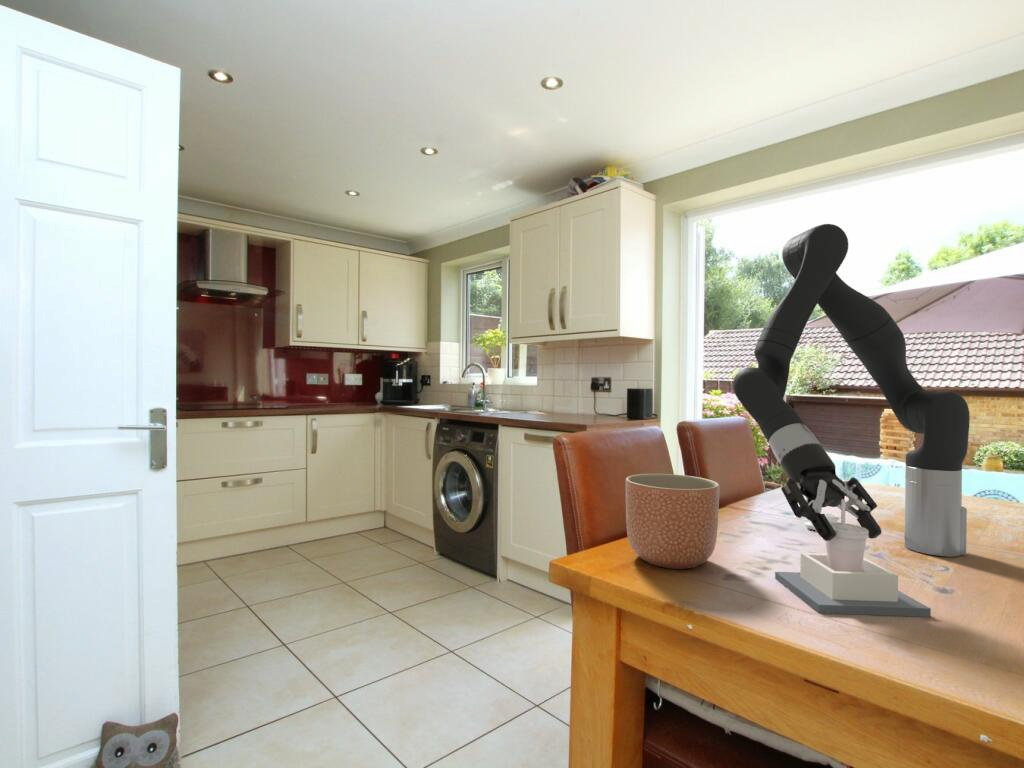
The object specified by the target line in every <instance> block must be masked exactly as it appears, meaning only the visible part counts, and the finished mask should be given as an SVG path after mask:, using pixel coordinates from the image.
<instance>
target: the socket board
mask: <svg viewBox="0 0 1024 768" xmlns="http://www.w3.org/2000/svg"><path fill="white" fill-rule="evenodd" d="M774 579H775V580H776V581H778V583H780V584H781V585H782V586H784V587H785V588H786V589H788V591H790V592H791V593H793V594H794V595H795V596H796V597H798V598H799V599H800V600H801V601H803V602H804V603H806V605H808V607H810V608H812V609H813V610H814V611H816V613H818V614H839V615H840V614H842V615H843V614H844V615H865V616H866V615H868V616H869V615H870V616H896V617H897V616H898V617H900V616H901V617H902V616H903V617H929V618H931V616H932V615H931V614H932V612H931V611H932V609H931V608H930V607H929V606H927V605H925V604H923V603H922V602H920V601H918V600H916V599H914V598H913V597H910V595H908V594H906V593H904V592H902V591H900V590H899V574H896V573H895V572H893V571H891V570H889V569H887V568H885V567H883V566H881V565H879V564H877V563H875V562H874V561H871V560H869V559H868V558H866V557H863V564H862V570H861V572H841V571H834V570H832V569H831V568H829V565H828V557H827V553H811V552H810V553H808V552H807V553H806V552H804V553H803V552H801V553H800V572H797V571H795V572H794V571H775V573H774Z"/></svg>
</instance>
